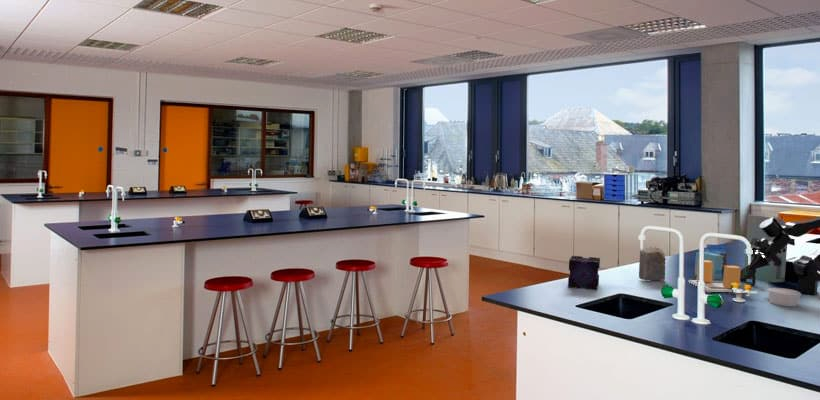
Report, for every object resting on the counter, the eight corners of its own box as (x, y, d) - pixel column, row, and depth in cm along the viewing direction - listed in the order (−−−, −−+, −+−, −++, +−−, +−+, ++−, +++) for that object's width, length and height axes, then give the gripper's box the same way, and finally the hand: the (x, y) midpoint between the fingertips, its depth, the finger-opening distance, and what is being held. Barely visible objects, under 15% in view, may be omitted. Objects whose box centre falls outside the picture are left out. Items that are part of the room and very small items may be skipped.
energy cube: (567, 287, 267) (569, 259, 266) (570, 282, 278) (572, 255, 277) (596, 290, 263) (598, 262, 262) (598, 284, 274) (600, 257, 273)
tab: (707, 280, 280) (708, 260, 280) (711, 282, 277) (713, 262, 276) (696, 279, 281) (697, 260, 280) (700, 281, 277) (701, 261, 276)
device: (784, 282, 289) (789, 218, 286) (771, 282, 287) (776, 218, 284) (756, 274, 305) (760, 214, 302) (743, 275, 303) (747, 214, 300)
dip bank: (725, 283, 282) (725, 280, 282) (748, 293, 263) (748, 290, 263) (688, 282, 282) (688, 279, 282) (708, 292, 263) (708, 289, 263)
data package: (721, 280, 289) (723, 255, 288) (714, 281, 287) (715, 255, 286) (701, 275, 300) (702, 251, 299) (694, 275, 298) (695, 251, 297)
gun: (744, 292, 290) (741, 271, 294) (760, 283, 275) (756, 261, 279) (738, 292, 290) (735, 271, 294) (753, 283, 276) (750, 261, 279)
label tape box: (707, 269, 317) (708, 245, 316) (704, 267, 321) (706, 244, 320) (725, 270, 315) (727, 246, 314) (723, 268, 319) (724, 244, 318)
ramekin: (796, 309, 239) (797, 295, 238) (764, 303, 246) (765, 290, 246) (802, 304, 247) (803, 291, 247) (770, 299, 255) (771, 286, 254)
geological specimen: (646, 282, 281) (648, 249, 280) (637, 279, 287) (638, 247, 285) (665, 281, 284) (667, 248, 283) (656, 278, 290) (658, 246, 289)
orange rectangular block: (734, 286, 269) (735, 265, 268) (739, 288, 265) (740, 267, 264) (722, 286, 269) (724, 265, 268) (727, 288, 265) (729, 267, 264)
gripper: (751, 228, 274) (725, 252, 275) (776, 234, 255) (747, 260, 256) (768, 246, 274) (741, 270, 275) (794, 253, 256) (765, 279, 257)
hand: (748, 269), depth 266 cm, fingers closed
